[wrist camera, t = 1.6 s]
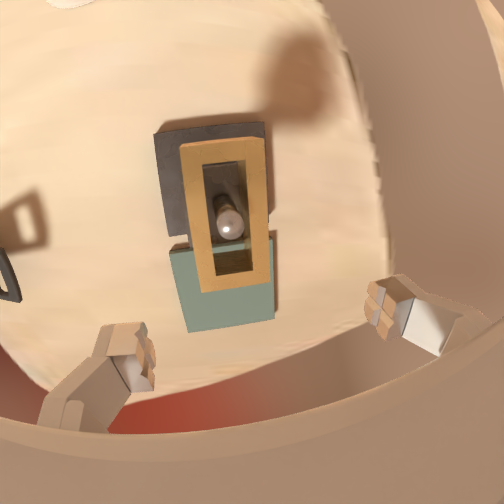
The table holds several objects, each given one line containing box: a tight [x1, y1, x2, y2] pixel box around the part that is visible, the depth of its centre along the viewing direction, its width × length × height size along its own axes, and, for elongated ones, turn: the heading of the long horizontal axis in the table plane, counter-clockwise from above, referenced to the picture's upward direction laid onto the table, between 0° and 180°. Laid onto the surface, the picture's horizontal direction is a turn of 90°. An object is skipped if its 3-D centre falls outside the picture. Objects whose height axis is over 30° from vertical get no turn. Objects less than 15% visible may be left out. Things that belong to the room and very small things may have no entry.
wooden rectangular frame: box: [179, 136, 270, 293], centre depth 19 cm, size 10×5×4 cm, turn 3°
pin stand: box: [153, 122, 269, 248], centre depth 24 cm, size 12×12×16 cm
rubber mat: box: [169, 236, 275, 333], centre depth 37 cm, size 13×13×1 cm
